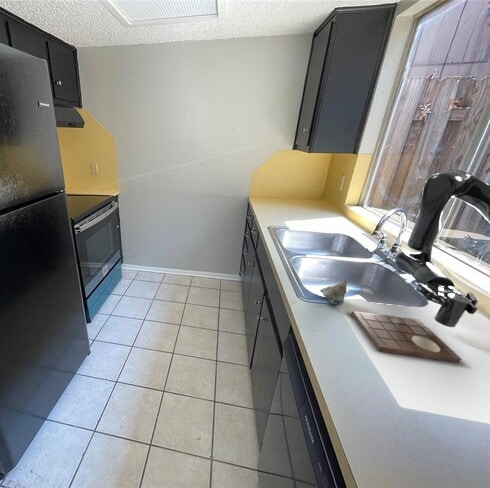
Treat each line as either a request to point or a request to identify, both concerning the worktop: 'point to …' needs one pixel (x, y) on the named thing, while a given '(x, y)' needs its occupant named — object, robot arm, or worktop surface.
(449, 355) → the board
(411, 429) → the worktop surface
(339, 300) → the rock
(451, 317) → the black cylinder
